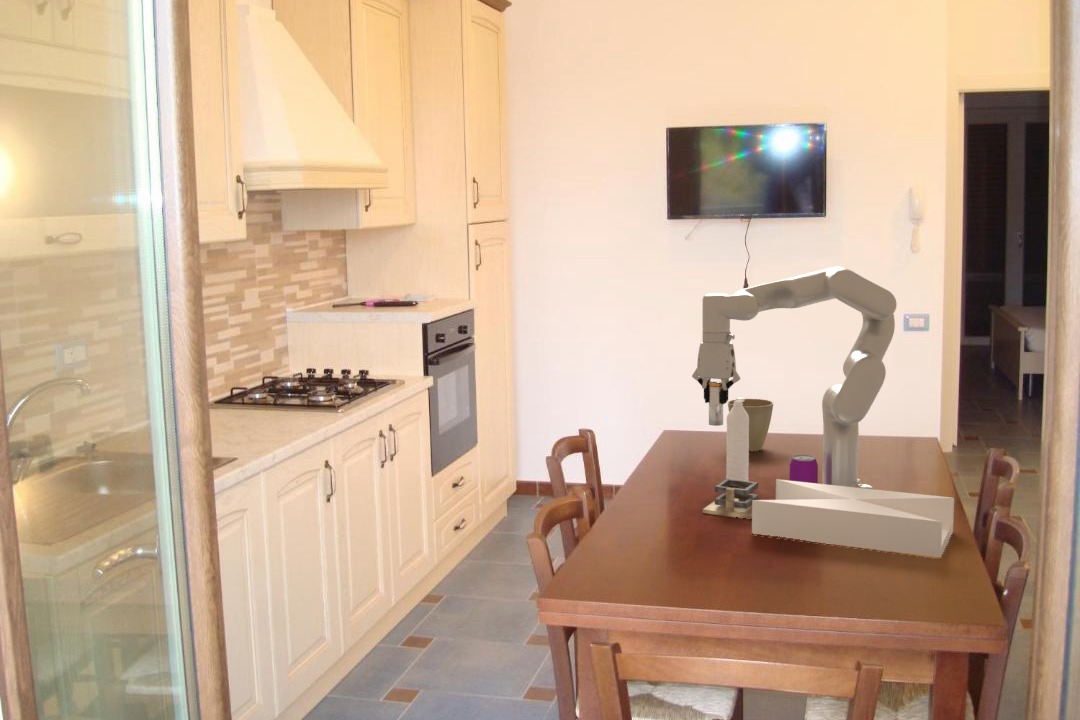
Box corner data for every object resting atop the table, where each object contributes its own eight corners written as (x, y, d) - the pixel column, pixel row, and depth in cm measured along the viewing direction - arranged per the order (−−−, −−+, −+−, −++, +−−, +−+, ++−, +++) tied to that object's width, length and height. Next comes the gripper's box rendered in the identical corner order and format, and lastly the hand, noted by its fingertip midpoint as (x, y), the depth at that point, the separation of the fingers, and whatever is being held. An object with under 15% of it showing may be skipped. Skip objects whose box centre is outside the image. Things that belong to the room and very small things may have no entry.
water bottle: (746, 487, 316) (747, 403, 312) (724, 485, 318) (725, 402, 314) (751, 479, 324) (752, 397, 321) (729, 478, 326) (729, 396, 323)
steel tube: (725, 423, 306) (725, 381, 304) (720, 426, 302) (720, 383, 300) (711, 422, 308) (711, 380, 306) (706, 424, 304) (706, 382, 302)
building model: (751, 536, 273) (752, 500, 272) (775, 513, 292) (776, 478, 291) (940, 561, 252) (942, 521, 251) (952, 534, 272) (954, 497, 270)
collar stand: (769, 506, 297) (770, 481, 296) (752, 519, 285) (752, 494, 284) (721, 499, 304) (721, 475, 303) (702, 512, 292) (702, 487, 291)
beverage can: (785, 500, 302) (786, 458, 300) (793, 493, 309) (793, 452, 307) (813, 504, 298) (814, 461, 297) (820, 497, 305) (821, 455, 303)
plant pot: (779, 447, 365) (779, 400, 362) (763, 456, 352) (763, 408, 350) (737, 442, 373) (737, 396, 370) (720, 451, 360) (720, 404, 358)
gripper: (749, 337, 300) (749, 402, 303) (693, 334, 309) (693, 398, 311) (740, 341, 294) (739, 407, 297) (682, 338, 302) (683, 402, 305)
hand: (715, 402), depth 304 cm, fingers closed on steel tube, 4 cm apart
